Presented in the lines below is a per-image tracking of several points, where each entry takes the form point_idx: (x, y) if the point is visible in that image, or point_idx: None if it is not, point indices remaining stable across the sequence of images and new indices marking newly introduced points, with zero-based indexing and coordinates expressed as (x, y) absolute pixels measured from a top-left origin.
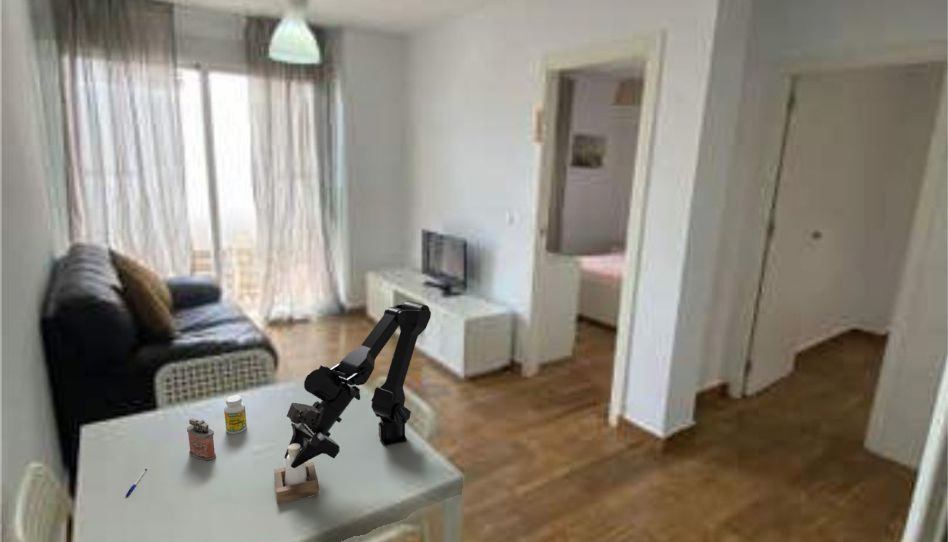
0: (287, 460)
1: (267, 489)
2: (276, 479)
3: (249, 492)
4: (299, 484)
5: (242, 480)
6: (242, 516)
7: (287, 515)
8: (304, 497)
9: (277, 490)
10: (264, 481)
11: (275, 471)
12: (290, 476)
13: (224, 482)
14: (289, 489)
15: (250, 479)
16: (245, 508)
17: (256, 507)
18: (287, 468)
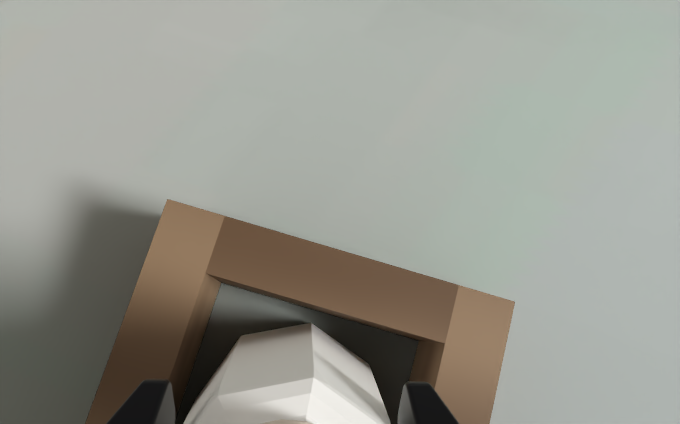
0: (281, 376)
1: (401, 225)
2: (350, 265)
3: (441, 117)
4: None
5: (603, 125)
6: (219, 4)
7: (17, 233)
8: None
9: (189, 215)
10: (509, 241)
11: (478, 303)
12: (226, 364)
13: (641, 30)
14: (131, 306)
15: (586, 171)
16: (287, 43)
17: (250, 99)
18: (274, 358)
